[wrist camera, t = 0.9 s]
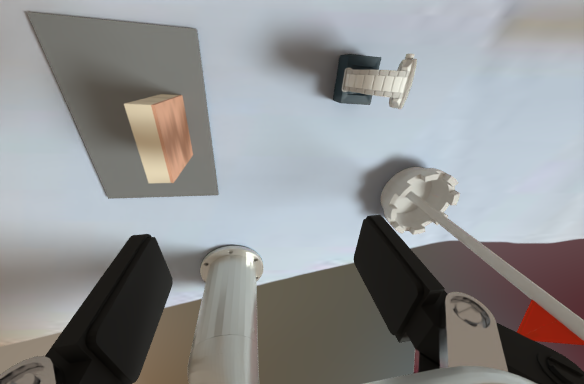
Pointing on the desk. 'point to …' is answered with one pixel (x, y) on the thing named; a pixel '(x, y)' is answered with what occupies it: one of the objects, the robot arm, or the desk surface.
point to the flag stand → (473, 248)
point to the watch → (372, 80)
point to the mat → (128, 95)
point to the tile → (161, 135)
